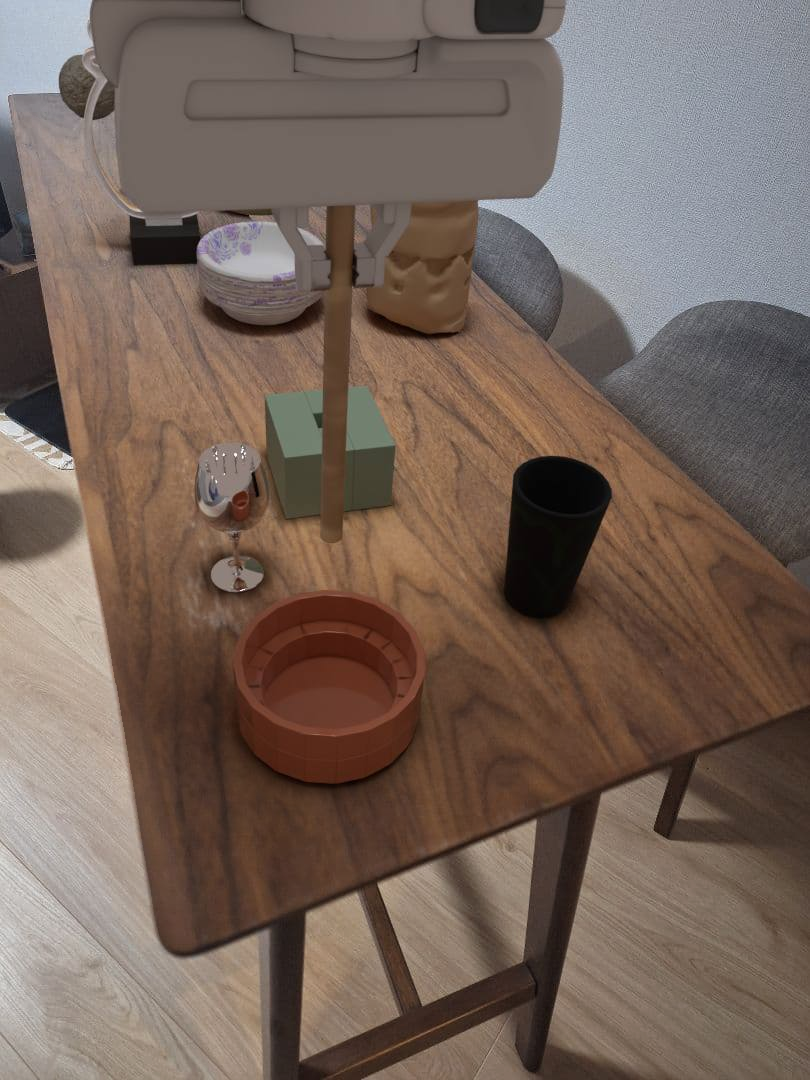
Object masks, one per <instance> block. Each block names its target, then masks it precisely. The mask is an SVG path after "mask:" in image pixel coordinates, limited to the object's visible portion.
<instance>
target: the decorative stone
mask: <svg viewBox="0 0 810 1080" xmlns="http://www.w3.org/2000/svg"><path fill="white" fill-rule="evenodd" d="M82 57H83V54H74V55H72V56H70V57H69V58H67V60H66V61H65V62H64V63H63V65H62V67H61V68H60V70H59V73H58V89H59V93H60V96H61V99H62V102H63V103H64V104H65V105H66V106H67V108H68V109H69V110H70V111H72V112H74V114H75V115H76V116H77V117H79V118H81V119H84V114H85V108H86V104H87V100H88V96H89V93H90V91H91V88H92V86H93V83H94V81H95V80H96V79H95V77H94V76H93V75H92V74H90V73H89V72H88V71H87V70H86V69H85V67H84V66H83V63H82ZM92 61H93V62H94V63H96V64H97V62H96V58H94V59H92ZM114 101H115V87H114V86H113V85H112V84H111V83H110V82H109V81H107V83H106V84H105V86H104V87H103V89H102V91H101V92H100V95H99V97H98V100H97V102H96V105H95V109H94V113H93V119H92V121H97V120H100V119H105V118H106V117H109V116H110V115H111V114H112V113H113V112H115V103H114Z"/></svg>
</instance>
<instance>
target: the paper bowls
mask: <svg viewBox="0 0 810 1080" xmlns="http://www.w3.org/2000/svg"><path fill="white" fill-rule="evenodd" d="M297 228H298V227H297ZM298 230H299V232H300V233H301V235H302V237H303V239H304V240H305V242H306V244H307V245H323V246H324V248H325V250H326V246H325V244H324V242H322V241H321V240H320V239H319V237H317V236H316V235H315V234H312V233H311V232H310V231H307V230H306V229H304V228H298ZM200 239H201V240H200V242H199V244H198V246H197V263H196V264H197V271H198V272H197V274H198V286H199V290H200V291H201V293H202V295H203V296H204V297H205V299H207V300H208V301H209V302H210V303H212V304H213V305H215V306H217V307H218V308H219V307H220V308H221V309H222V310H223V312H224V313H225V314H226V315H228V316H229V317H230V318H232V319H233V320H236V321H237V322H241V323H243V324H249V325H253V326H254V325H255V326H274V325H281V324H284V323H288V322H292V321H293V320H295V319H296V318H298V317H299V316H301V315H302V314H303V313H304V311H305V310H306V308H308V307H311V305H313V304H314V303H316V302H317V301H319V300H320V299H321V298H322V296H323V295H324V294H325V290H324V291H313V292H311V291H310V292H300V290H299V288H298V285H297V283H296V278H295V254H294V252H293V250H292V249H291V247H290V246H289V244H288V242H287V241H286V239H285V237H284V236H283V234H282V233H281V231H280V229H279V227H278V225H277V223H276V221H274V222H273V221H241V222H235V223H229V224H226V225H222V226H220V227H217V228H215V229H213V230H210V231H209V232H208V233H206V234H204V236H202V238H200Z"/></svg>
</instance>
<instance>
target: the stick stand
mask: <svg viewBox="0 0 810 1080" xmlns="http://www.w3.org/2000/svg"><path fill="white" fill-rule="evenodd" d="M322 414H323V389H314V390H305V391H295V392H294V391H293V392H283V393H272V394H271V393H270V394H265V395H264V418H265V420H264V421H265V422H264V423H265V448H266V450H265V451H266V458H267V461H268V464H269V465H268V466H269V468H270V471H271V474H272V479H273V481H274V484H275V488H276V491H277V494H278V499H279V501H280V505H281V508H282V511H283V514H284V518H285V519H286V520H289V519H290V520H291V519H297V518H304V517H306V518H307V517H313V516H321V467H322ZM396 446H397V445H396V443H395V440H394V438H393V436H392V434H391V431H390V430H389V428H388V426H387V424H386V421H385V419H384V418H383V416H382V413H381V411H380V409H379V407H378V405H377V403H376V401H375V398H374V396H373V394H372V392H371V390H370V388H369V386H368V385H357V386H356V385H355V386H348V410H347V435H346V460H345V485H344V509H343V513H344V512H351V511H358V510H365V509H373V508H382V507H388V506H391V505H392V497H393V496H392V494H393V485H394V484H393V483H394V471H395V460H396V459H395V458H396V448H397V447H396Z"/></svg>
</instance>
